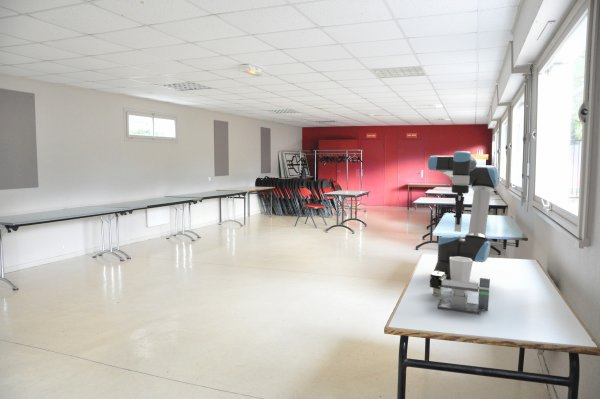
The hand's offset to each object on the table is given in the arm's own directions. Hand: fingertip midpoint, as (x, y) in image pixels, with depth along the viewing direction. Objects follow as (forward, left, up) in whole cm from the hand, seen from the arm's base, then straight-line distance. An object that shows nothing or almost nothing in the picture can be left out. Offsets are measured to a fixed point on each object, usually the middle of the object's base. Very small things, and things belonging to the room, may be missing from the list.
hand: (457, 229), depth 202 cm
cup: (-6, -5, -33) cm, 34 cm away
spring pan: (+5, +15, -28) cm, 32 cm away
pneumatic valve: (+7, -3, -33) cm, 34 cm away
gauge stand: (+6, +15, -33) cm, 36 cm away
